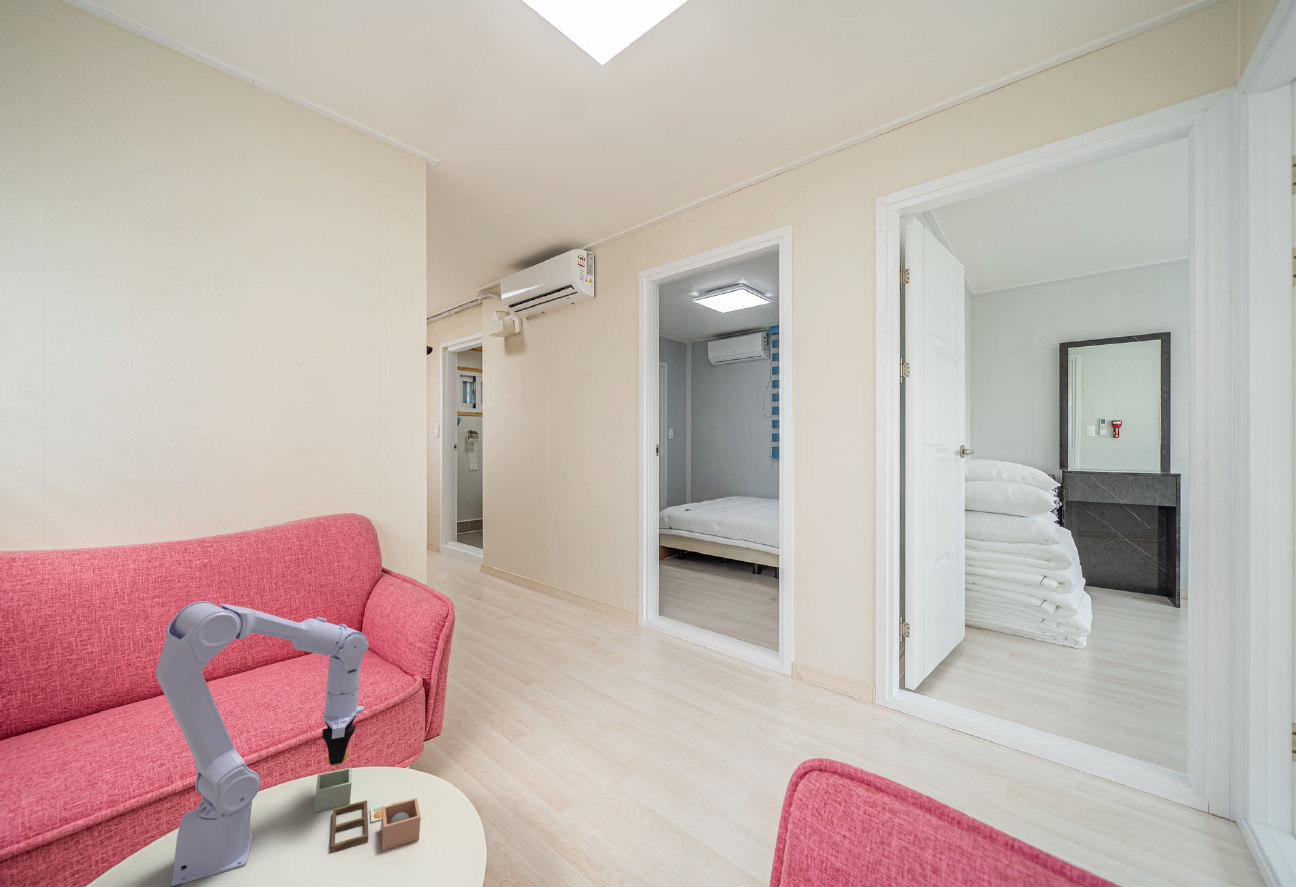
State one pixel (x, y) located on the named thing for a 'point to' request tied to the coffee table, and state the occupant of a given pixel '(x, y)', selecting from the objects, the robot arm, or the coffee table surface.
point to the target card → (378, 812)
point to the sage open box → (333, 789)
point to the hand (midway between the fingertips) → (337, 757)
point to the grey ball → (399, 817)
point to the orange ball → (343, 759)
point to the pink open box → (400, 824)
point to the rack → (349, 826)
